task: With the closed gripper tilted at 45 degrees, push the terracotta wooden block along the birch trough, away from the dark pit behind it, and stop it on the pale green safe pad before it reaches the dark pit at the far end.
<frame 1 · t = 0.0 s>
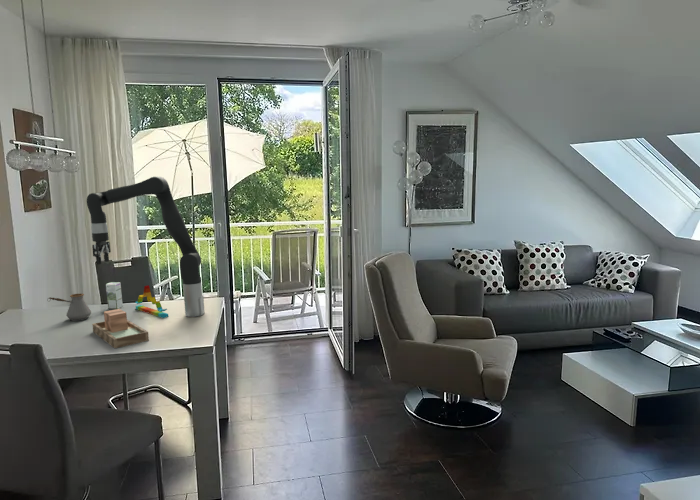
hand: (103, 262, 256), 29 cm above the table, tool pointing down, fingers open, 8 cm apart
trough: (120, 336, 228), on the table
multicoloured triangular frame: (151, 313, 268), on the table
safe pad: (123, 338, 224), resting in trough
block: (116, 328, 231), point 2 cm above the table, touching safe pad, trough
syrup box: (115, 308, 280), on the table
coffee pot: (70, 321, 255), on the table
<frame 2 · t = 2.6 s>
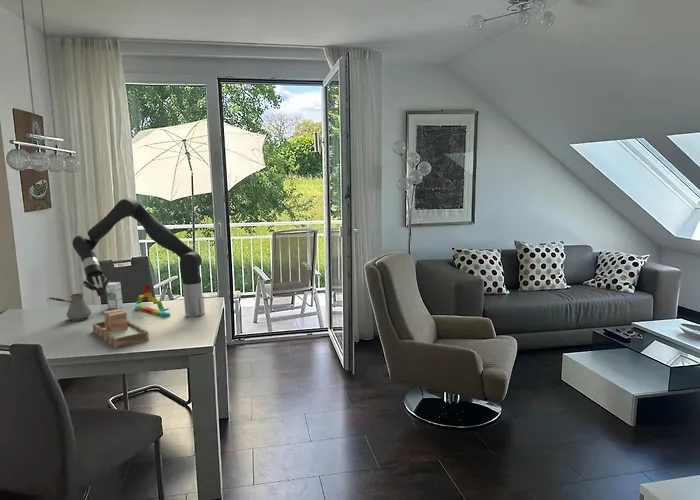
hand: (101, 295, 244), 15 cm above the table, tool tilted 45°, fingers closed
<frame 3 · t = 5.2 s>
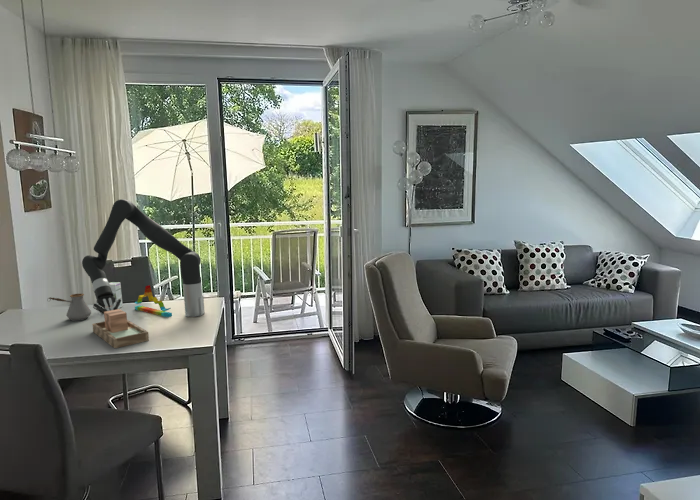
hand: (112, 318, 234), 6 cm above the table, tool tilted 45°, fingers closed
block: (116, 328, 231), point 3 cm above the table
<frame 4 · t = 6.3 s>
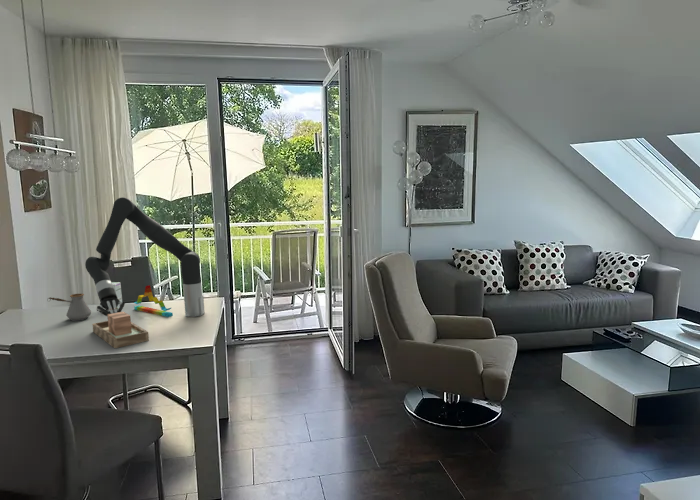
hand: (116, 321, 230), 6 cm above the table, tool tilted 45°, fingers closed
block: (120, 331, 226), point 3 cm above the table, touching gripper
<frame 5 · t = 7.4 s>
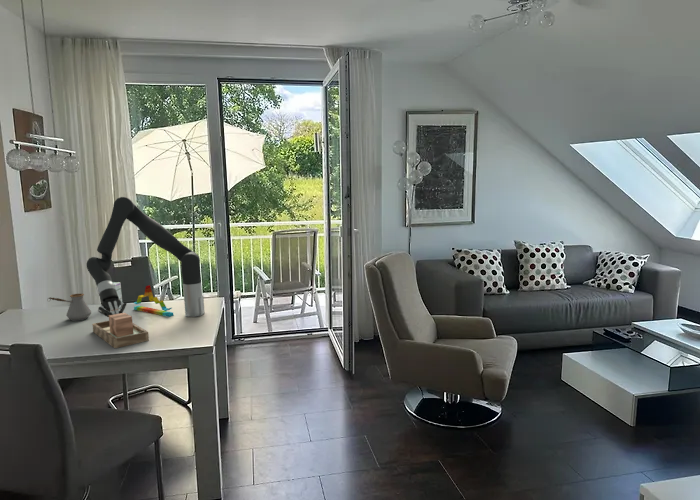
hand: (117, 322, 228), 6 cm above the table, tool tilted 45°, fingers closed
block: (121, 333, 224), point 2 cm above the table, touching gripper, safe pad, trough
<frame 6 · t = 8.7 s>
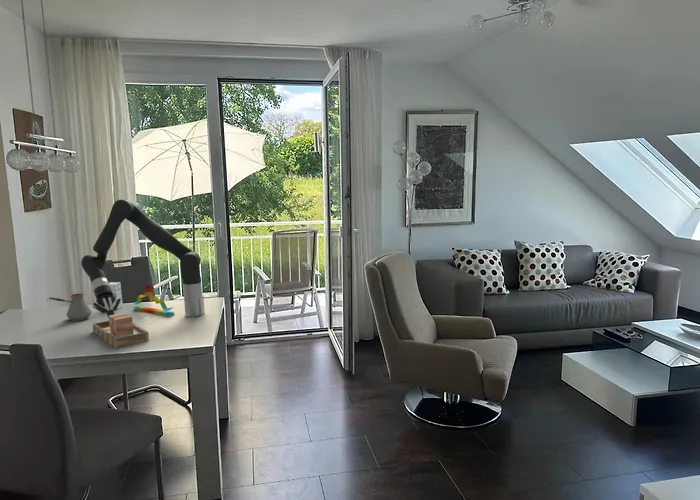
hand: (112, 318, 234), 7 cm above the table, tool tilted 45°, fingers closed
block: (121, 333, 224), point 2 cm above the table, touching safe pad, trough
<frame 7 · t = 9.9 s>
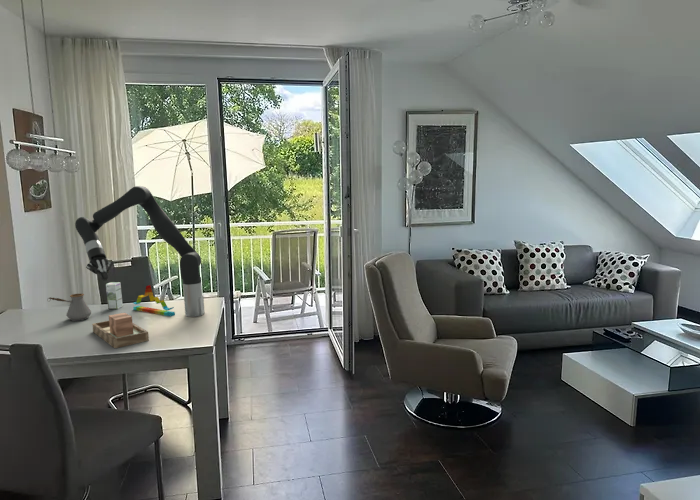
hand: (105, 279, 239), 24 cm above the table, tool tilted 40°, fingers closed
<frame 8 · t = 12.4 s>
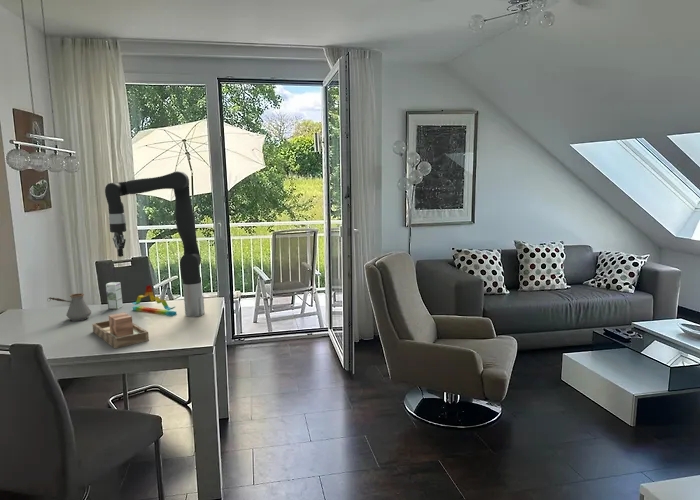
hand: (120, 256, 252), 33 cm above the table, tool pointing down, fingers closed
at the end: block 0.7 cm from the safe pad (horizontally); block tilted 0°; block point 2.5 cm above the table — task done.
